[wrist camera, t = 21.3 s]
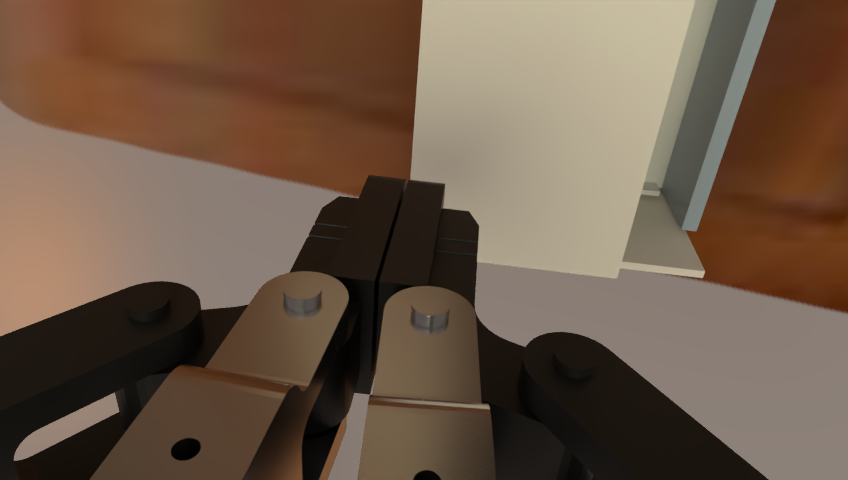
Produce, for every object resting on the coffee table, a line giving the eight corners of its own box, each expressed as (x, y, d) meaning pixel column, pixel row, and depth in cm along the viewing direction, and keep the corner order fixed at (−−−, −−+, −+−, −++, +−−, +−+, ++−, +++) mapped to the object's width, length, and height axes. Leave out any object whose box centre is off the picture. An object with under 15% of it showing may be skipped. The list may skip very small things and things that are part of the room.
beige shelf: (451, -116, 33) (430, -102, 24) (739, -90, 33) (841, -65, 23) (428, 158, 41) (405, 253, 32) (658, 184, 41) (708, 289, 31)
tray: (466, -97, 33) (460, -89, 28) (751, -71, 32) (795, -57, 27) (441, 158, 40) (433, 200, 35) (672, 184, 39) (696, 231, 34)
